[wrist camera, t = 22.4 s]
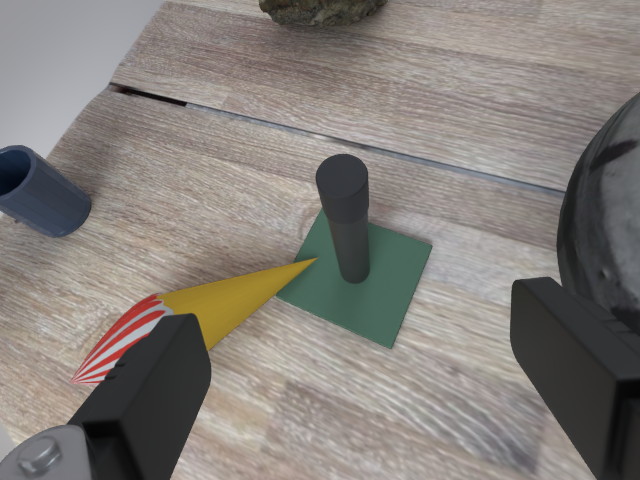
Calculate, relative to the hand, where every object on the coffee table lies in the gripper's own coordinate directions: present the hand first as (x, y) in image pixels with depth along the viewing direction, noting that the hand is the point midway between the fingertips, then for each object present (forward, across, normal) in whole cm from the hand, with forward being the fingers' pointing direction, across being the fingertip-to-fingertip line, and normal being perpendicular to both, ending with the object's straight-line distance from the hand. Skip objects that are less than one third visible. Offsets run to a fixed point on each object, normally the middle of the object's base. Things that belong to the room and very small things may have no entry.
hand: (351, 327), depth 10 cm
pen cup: (+28, +28, +2) cm, 39 cm away
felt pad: (+21, 0, +8) cm, 23 cm away
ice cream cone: (+19, +11, +11) cm, 24 cm away
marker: (+20, 0, +8) cm, 22 cm away
